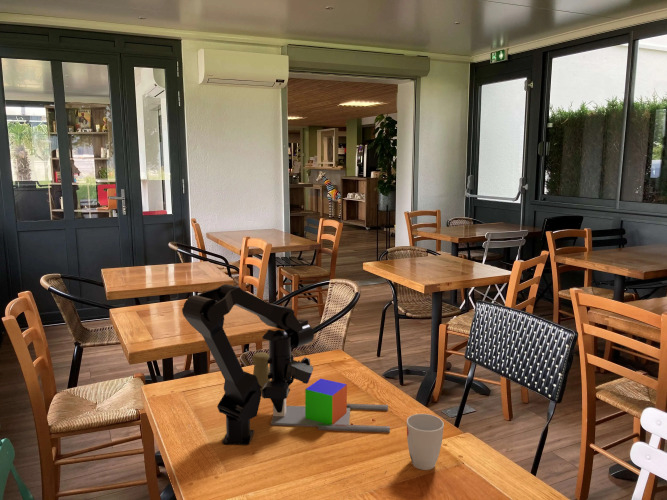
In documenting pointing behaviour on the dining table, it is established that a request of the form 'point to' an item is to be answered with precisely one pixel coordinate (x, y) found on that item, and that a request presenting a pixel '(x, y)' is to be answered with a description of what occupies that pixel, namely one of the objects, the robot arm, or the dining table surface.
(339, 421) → the grey panel with knob
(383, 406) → the lane rails
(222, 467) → the dining table surface
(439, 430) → the cup
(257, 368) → the cork
